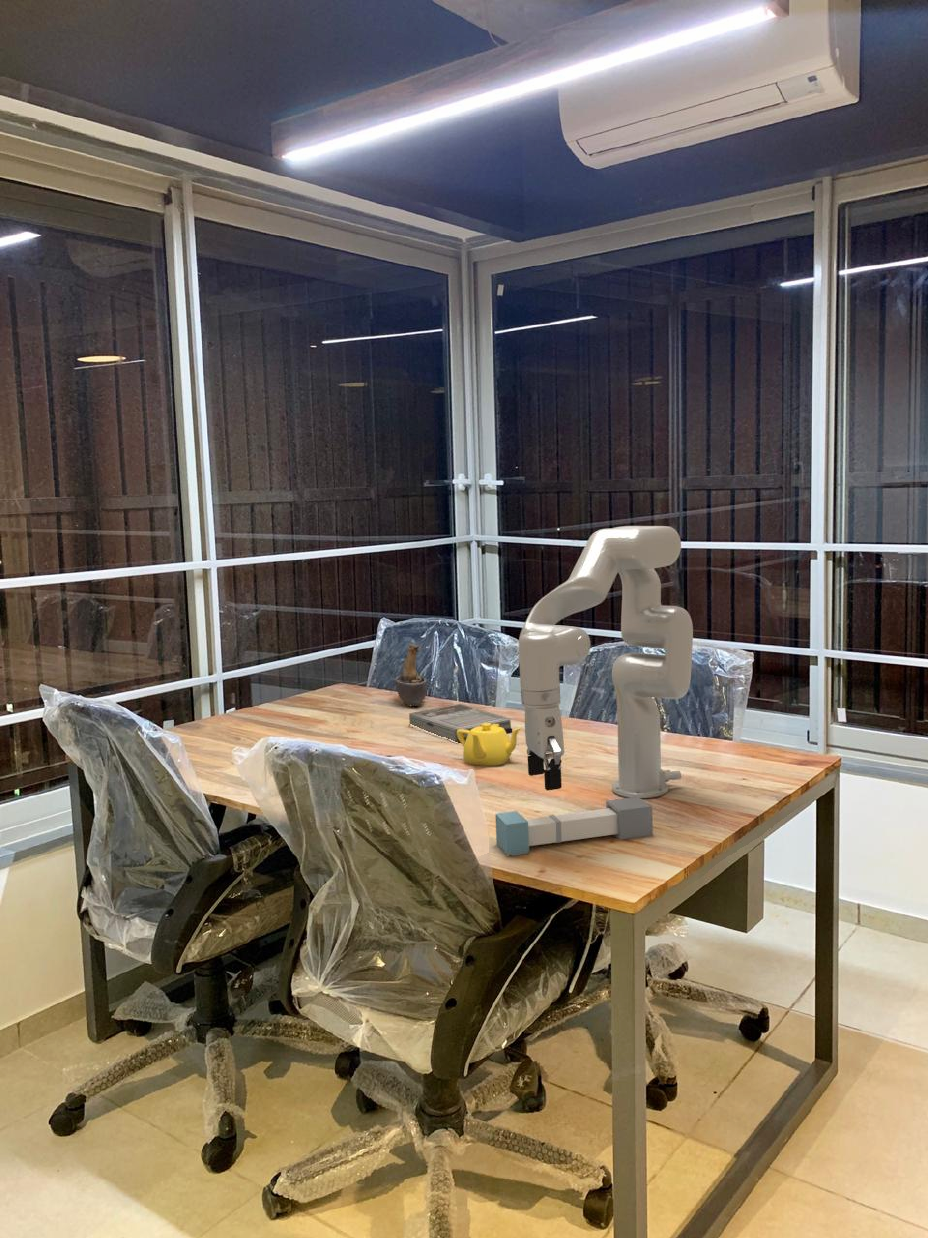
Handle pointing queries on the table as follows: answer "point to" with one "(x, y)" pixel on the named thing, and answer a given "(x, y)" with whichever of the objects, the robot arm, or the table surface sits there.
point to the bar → (572, 826)
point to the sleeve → (632, 817)
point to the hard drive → (456, 720)
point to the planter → (411, 680)
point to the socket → (512, 833)
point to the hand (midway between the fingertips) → (544, 781)
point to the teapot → (487, 744)
